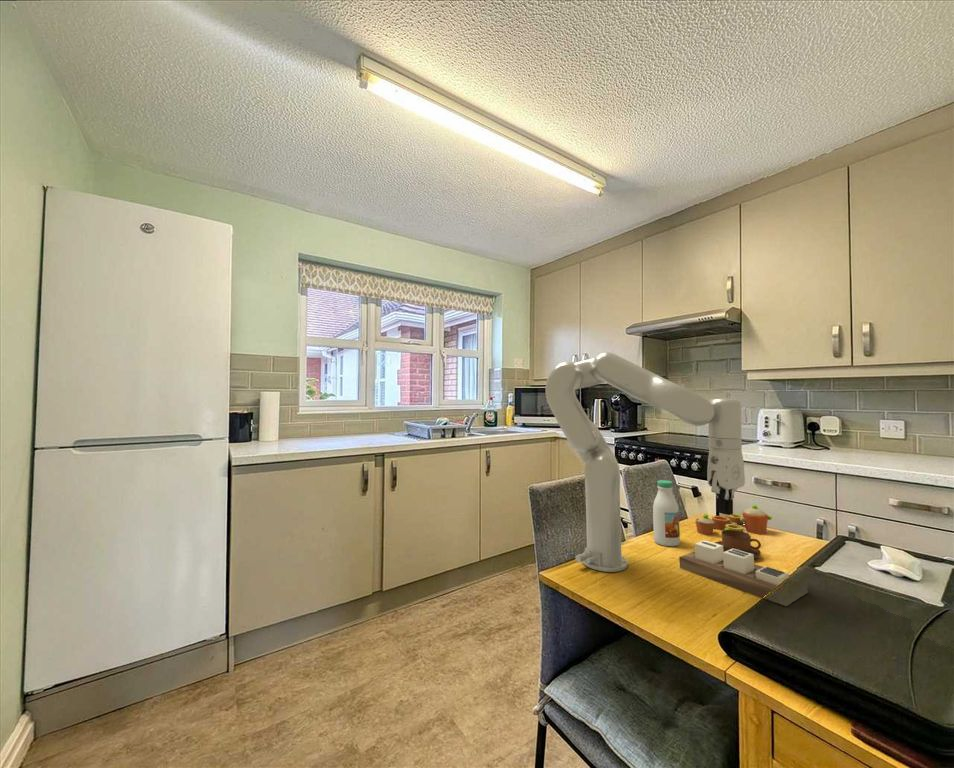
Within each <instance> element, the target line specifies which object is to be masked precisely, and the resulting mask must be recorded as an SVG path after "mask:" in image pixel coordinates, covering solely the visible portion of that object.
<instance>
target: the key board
mask: <svg viewBox="0 0 954 768" xmlns="http://www.w3.org/2000/svg"><path fill="white" fill-rule="evenodd" d="M678 560H679V568H680V569H681V570H685V571H687V572H689V573H693V574H695V575H698V576H701V577H702V578H703V577H704V578H706V579H708V580H712V581H715V582H717V583H719V584H722V585H725V586H727V587H731V588H732V589H736V590H739V591H742V592H744V593H747V594H748V595H751V596H755V597H757V598H760V599H763V597H764V596H765V595H767V594H768V593H769V592H771V591H772V590H774V589H775V588H776V587H777V586H778V585H775V584H772V583H769V582H766V581H763V580H760V579H757V578H756V571H757V570H759V569H761V568H763V567H764V566H762V565H759V564H756V563H754V571H752V572H750V573H748V574H746V575H745V574H742V573H739V572H736V571H733V570H730V569H727V568H724V561H721V562H719V563H716V564H712V563H709V562H706V561H703V560H700V559H697V558H695V550H693V551H692V552H689V553H686V554H683V555H681V556H679V557H678ZM790 575H791V574H789V576H790Z"/></svg>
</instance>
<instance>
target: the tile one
mask: <svg viewBox="0 0 954 768" xmlns="http://www.w3.org/2000/svg"><path fill="white" fill-rule="evenodd" d="M694 551H695V558H697V559H700V560H703V561H706V562H709V563H712V564H716V563H719V562H721V561H723V545H719V544H716V543H715V542H712V541H708V540H701V541H699V542H696V543H694Z"/></svg>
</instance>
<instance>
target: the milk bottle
mask: <svg viewBox="0 0 954 768" xmlns="http://www.w3.org/2000/svg"><path fill="white" fill-rule="evenodd" d="M673 486H674V485H673V482H672V481H671V480H666V479H665V480H664V479H663V480H662V479H660V480H657V489H658V491H657V494H656V496H655V498H654V501H653V506H652V515H653V516H652V519H653V520H652V521H653V540H654V542H655V543H656V544H658V545H661V546H664V547H677V546H679V545H680V543H681V532H680V530H681V529H680V512H679V511H680V509H679V505H678V501H677V500H676V498H675V495H674V494H673V493H674V492H673V489H674V488H673Z"/></svg>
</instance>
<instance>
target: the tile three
mask: <svg viewBox="0 0 954 768" xmlns="http://www.w3.org/2000/svg"><path fill="white" fill-rule="evenodd" d="M789 575H790V573H788V572H784V571H782V570H778V569H776V568H773V567H769V566H763V568H761V569H759V570H757V571H756V578H757V579H760V580H763V581H766V582H769V583H772V584H775V585H779V584H781V583H782V582H783V581H784V580H785V579H787V578H788V577H789Z"/></svg>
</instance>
